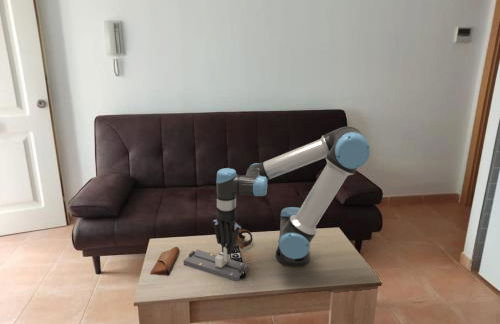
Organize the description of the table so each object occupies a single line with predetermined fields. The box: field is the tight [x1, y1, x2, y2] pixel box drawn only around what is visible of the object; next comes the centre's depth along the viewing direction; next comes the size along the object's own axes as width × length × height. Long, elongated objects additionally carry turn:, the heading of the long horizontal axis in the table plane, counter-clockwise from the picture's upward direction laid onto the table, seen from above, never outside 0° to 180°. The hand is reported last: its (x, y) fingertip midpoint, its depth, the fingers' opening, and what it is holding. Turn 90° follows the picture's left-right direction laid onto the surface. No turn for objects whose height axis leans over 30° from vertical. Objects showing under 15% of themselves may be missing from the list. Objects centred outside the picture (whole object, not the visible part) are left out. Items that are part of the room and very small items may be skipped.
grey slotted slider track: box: [183, 249, 250, 283], centre depth 155 cm, size 26×10×3 cm, turn 63°
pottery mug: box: [232, 229, 254, 250], centre depth 172 cm, size 12×10×8 cm
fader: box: [215, 251, 229, 268], centre depth 152 cm, size 3×6×4 cm, turn 153°
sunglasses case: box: [149, 246, 180, 276], centre depth 157 cm, size 18×7×7 cm
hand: (226, 260), depth 151 cm, fingers closed
